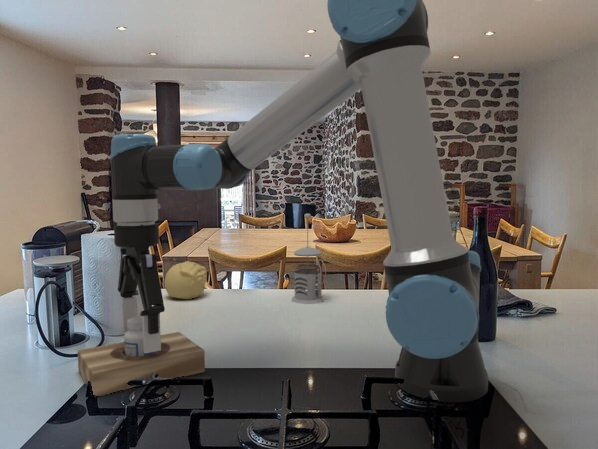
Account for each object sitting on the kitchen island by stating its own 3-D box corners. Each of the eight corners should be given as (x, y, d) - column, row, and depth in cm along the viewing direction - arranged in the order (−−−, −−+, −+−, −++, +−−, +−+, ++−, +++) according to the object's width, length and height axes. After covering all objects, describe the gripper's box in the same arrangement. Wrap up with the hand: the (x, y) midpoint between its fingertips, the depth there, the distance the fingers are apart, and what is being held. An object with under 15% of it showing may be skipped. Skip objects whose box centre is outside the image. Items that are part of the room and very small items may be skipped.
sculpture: (198, 302, 139) (197, 265, 138) (158, 301, 141) (157, 264, 140) (212, 293, 150) (211, 258, 149) (175, 292, 153) (174, 257, 152)
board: (204, 371, 89) (204, 350, 89) (93, 397, 79) (92, 373, 78) (179, 351, 100) (179, 331, 100) (78, 371, 89) (77, 350, 89)
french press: (309, 294, 149) (309, 211, 147) (336, 301, 140) (336, 213, 138) (284, 299, 143) (283, 213, 140) (310, 307, 134) (310, 215, 132)
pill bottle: (155, 364, 93) (153, 313, 92) (158, 374, 88) (156, 321, 87) (124, 368, 91) (122, 316, 90) (126, 379, 86) (124, 324, 85)
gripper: (182, 227, 79) (185, 356, 80) (137, 218, 99) (141, 320, 101) (134, 230, 74) (139, 366, 76) (98, 219, 95) (103, 327, 97)
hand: (140, 340), depth 89 cm, fingers open, 13 cm apart
